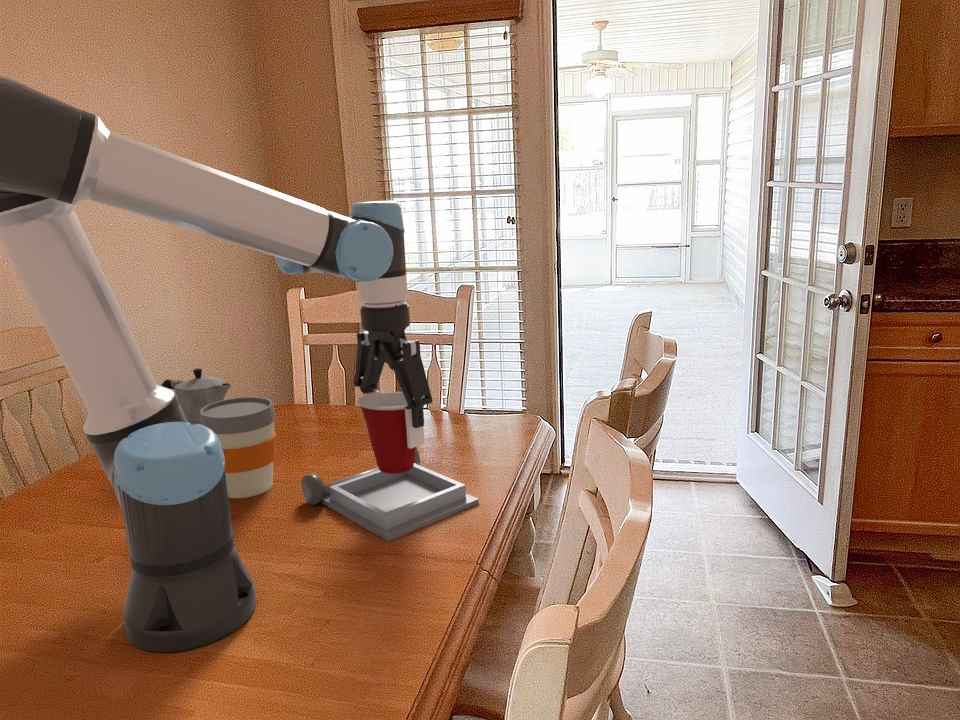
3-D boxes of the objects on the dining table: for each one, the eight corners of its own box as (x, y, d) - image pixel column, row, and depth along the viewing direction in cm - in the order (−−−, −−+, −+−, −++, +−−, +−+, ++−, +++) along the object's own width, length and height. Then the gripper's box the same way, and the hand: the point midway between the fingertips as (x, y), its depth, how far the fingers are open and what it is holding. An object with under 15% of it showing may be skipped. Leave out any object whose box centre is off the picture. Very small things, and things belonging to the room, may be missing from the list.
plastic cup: (443, 461, 119) (439, 391, 116) (402, 485, 110) (396, 410, 107) (392, 450, 125) (387, 384, 122) (349, 472, 116) (343, 401, 113)
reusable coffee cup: (296, 485, 127) (288, 404, 124) (231, 509, 119) (220, 423, 115) (259, 468, 136) (251, 392, 132) (196, 490, 127) (184, 409, 123)
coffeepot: (250, 448, 147) (240, 363, 143) (226, 465, 138) (215, 375, 134) (182, 445, 150) (171, 362, 146) (155, 462, 141) (141, 374, 137)
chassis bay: (379, 545, 105) (376, 514, 103) (302, 500, 121) (300, 472, 120) (486, 500, 118) (484, 472, 117) (404, 464, 135) (402, 439, 134)
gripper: (450, 306, 105) (458, 448, 110) (363, 293, 122) (373, 416, 127) (409, 314, 100) (420, 462, 105) (324, 299, 117) (337, 427, 122)
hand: (394, 437), depth 116 cm, fingers closed on plastic cup, 11 cm apart
